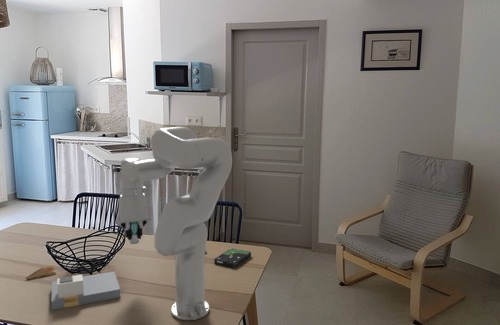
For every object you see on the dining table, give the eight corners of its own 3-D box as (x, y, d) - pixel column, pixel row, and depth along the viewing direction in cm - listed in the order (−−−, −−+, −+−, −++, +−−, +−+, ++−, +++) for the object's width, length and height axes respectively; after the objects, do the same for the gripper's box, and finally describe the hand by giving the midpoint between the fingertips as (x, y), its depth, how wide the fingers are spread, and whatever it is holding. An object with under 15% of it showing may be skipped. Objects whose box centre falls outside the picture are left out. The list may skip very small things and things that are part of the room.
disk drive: (235, 270, 171) (251, 257, 184) (235, 263, 170) (251, 251, 183) (213, 265, 176) (231, 253, 189) (213, 258, 175) (231, 247, 188)
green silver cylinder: (139, 243, 156) (138, 222, 154) (130, 244, 154) (130, 223, 153) (138, 240, 158) (137, 220, 157) (129, 241, 157) (128, 221, 156)
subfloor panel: (120, 297, 146) (120, 289, 146) (52, 310, 137) (51, 301, 136) (114, 278, 160) (114, 271, 160) (52, 289, 151) (51, 281, 151)
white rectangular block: (83, 294, 142) (82, 279, 141) (58, 298, 138) (57, 283, 138) (83, 287, 146) (82, 273, 145) (58, 291, 143) (57, 277, 142)
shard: (25, 281, 158) (25, 277, 158) (24, 274, 164) (23, 269, 164) (56, 275, 164) (56, 271, 163) (53, 268, 170) (53, 264, 170)
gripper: (152, 187, 160) (154, 232, 163) (108, 191, 153) (110, 238, 156) (156, 191, 153) (158, 238, 156) (110, 195, 146) (112, 244, 149)
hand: (134, 238), depth 156 cm, fingers closed on green silver cylinder, 3 cm apart
